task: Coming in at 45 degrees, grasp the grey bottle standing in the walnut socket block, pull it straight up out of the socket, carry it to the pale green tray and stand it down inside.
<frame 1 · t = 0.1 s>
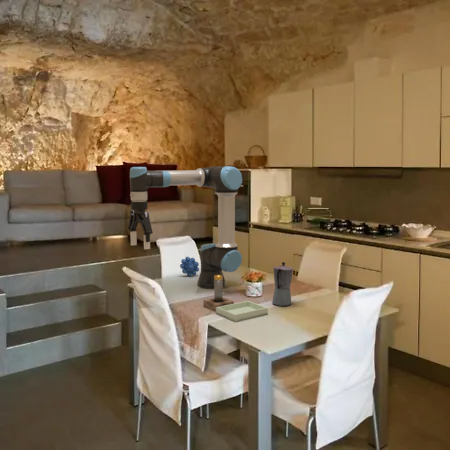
hand: (140, 247, 228), 28 cm above the table, tool pointing down, fingers open, 13 cm apart
grapes: (190, 277, 292), on the table
socket block: (218, 307, 230), on the table
tray: (241, 314, 219), on the table
grey bottle: (218, 291, 229), in the socket block
moka pot: (282, 304, 235), on the table
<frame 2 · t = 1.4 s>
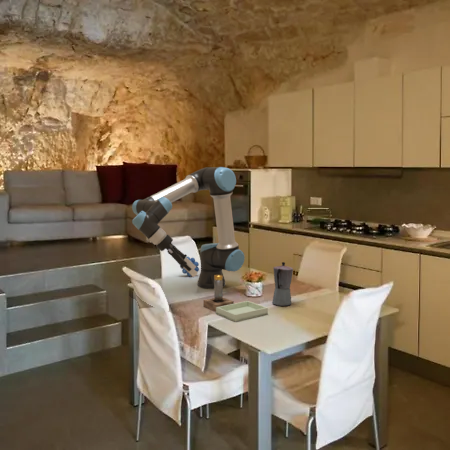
hand: (194, 271, 227), 17 cm above the table, tool tilted 45°, fingers open, 13 cm apart
nothing on the table moved.
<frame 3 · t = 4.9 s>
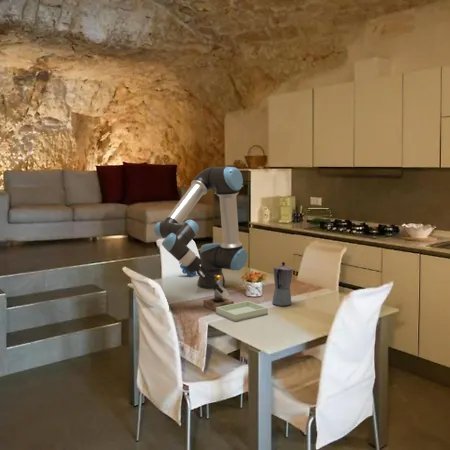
hand: (226, 295, 230), 5 cm above the table, tool tilted 45°, fingers closed on grey bottle, 4 cm apart
grey bottle: (218, 291, 229), in the socket block, touching gripper
everything else where it was.
when the fingers open (7 cm above the table, at t = 10.0 s): grey bottle stays where it is, resting on tray.
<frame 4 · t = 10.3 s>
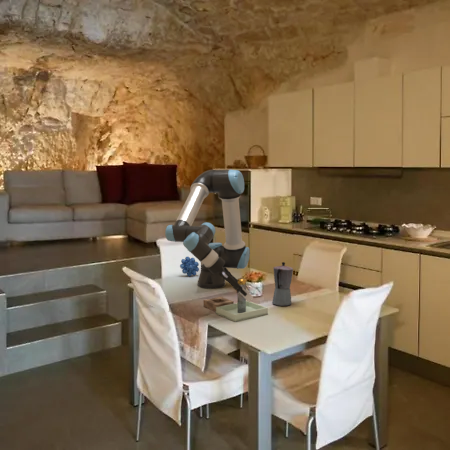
hand: (249, 297, 219), 8 cm above the table, tool tilted 45°, fingers open, 8 cm apart
grey bottle: (241, 295, 218), in the tray, point 8 cm above the table
everything else where it was.
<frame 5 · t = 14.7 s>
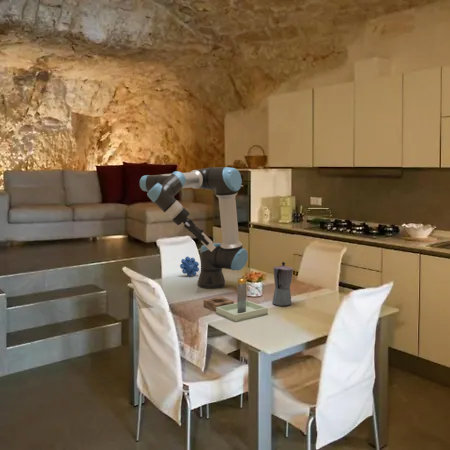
hand: (212, 246, 218), 30 cm above the table, tool tilted 45°, fingers open, 13 cm apart
nothing on the table moved.
at the end: grey bottle inside the target area on the tray (0.1 cm from its centre), point 8.3 cm above the tray's base; grey bottle touching tray; the gripper is holding nothing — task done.
